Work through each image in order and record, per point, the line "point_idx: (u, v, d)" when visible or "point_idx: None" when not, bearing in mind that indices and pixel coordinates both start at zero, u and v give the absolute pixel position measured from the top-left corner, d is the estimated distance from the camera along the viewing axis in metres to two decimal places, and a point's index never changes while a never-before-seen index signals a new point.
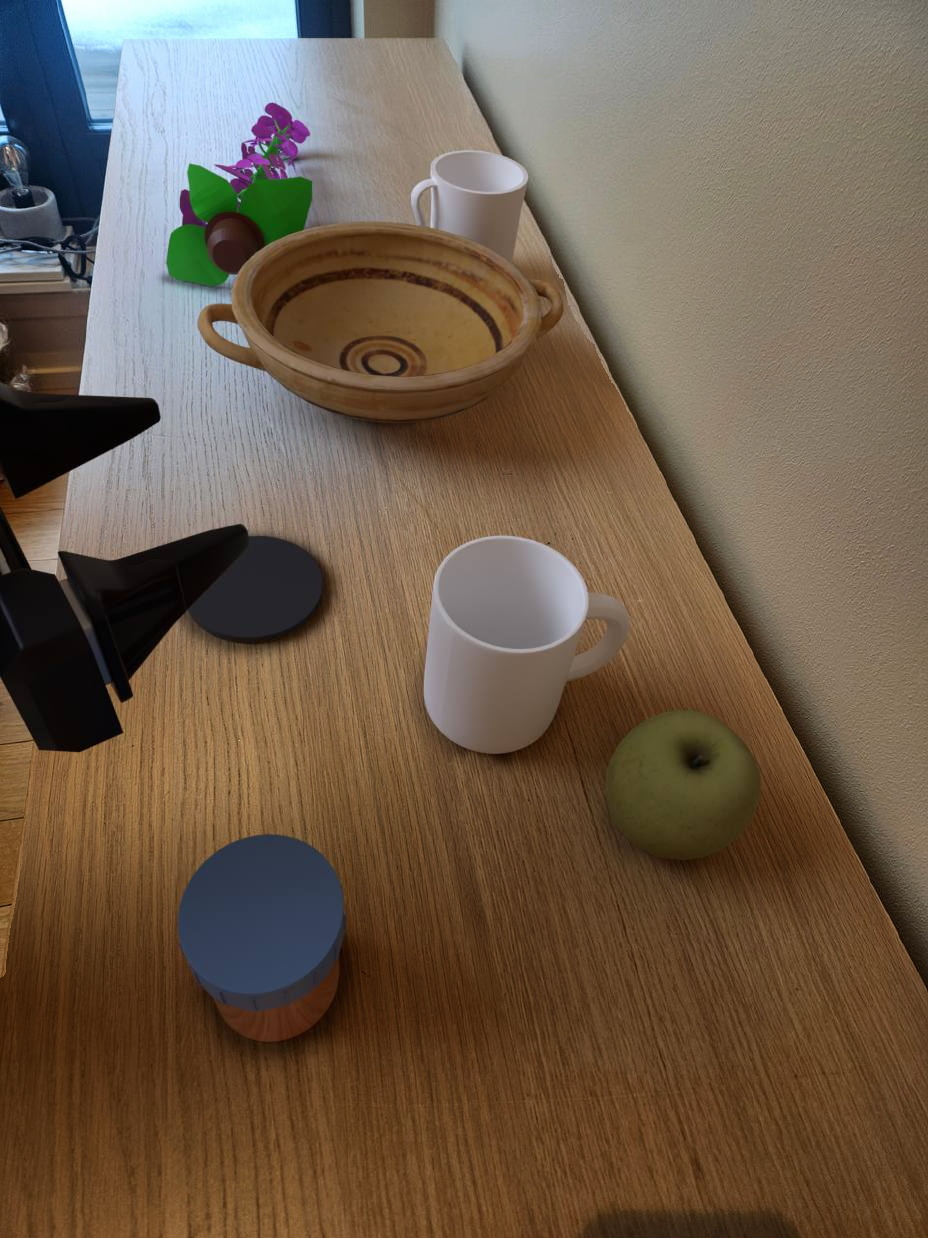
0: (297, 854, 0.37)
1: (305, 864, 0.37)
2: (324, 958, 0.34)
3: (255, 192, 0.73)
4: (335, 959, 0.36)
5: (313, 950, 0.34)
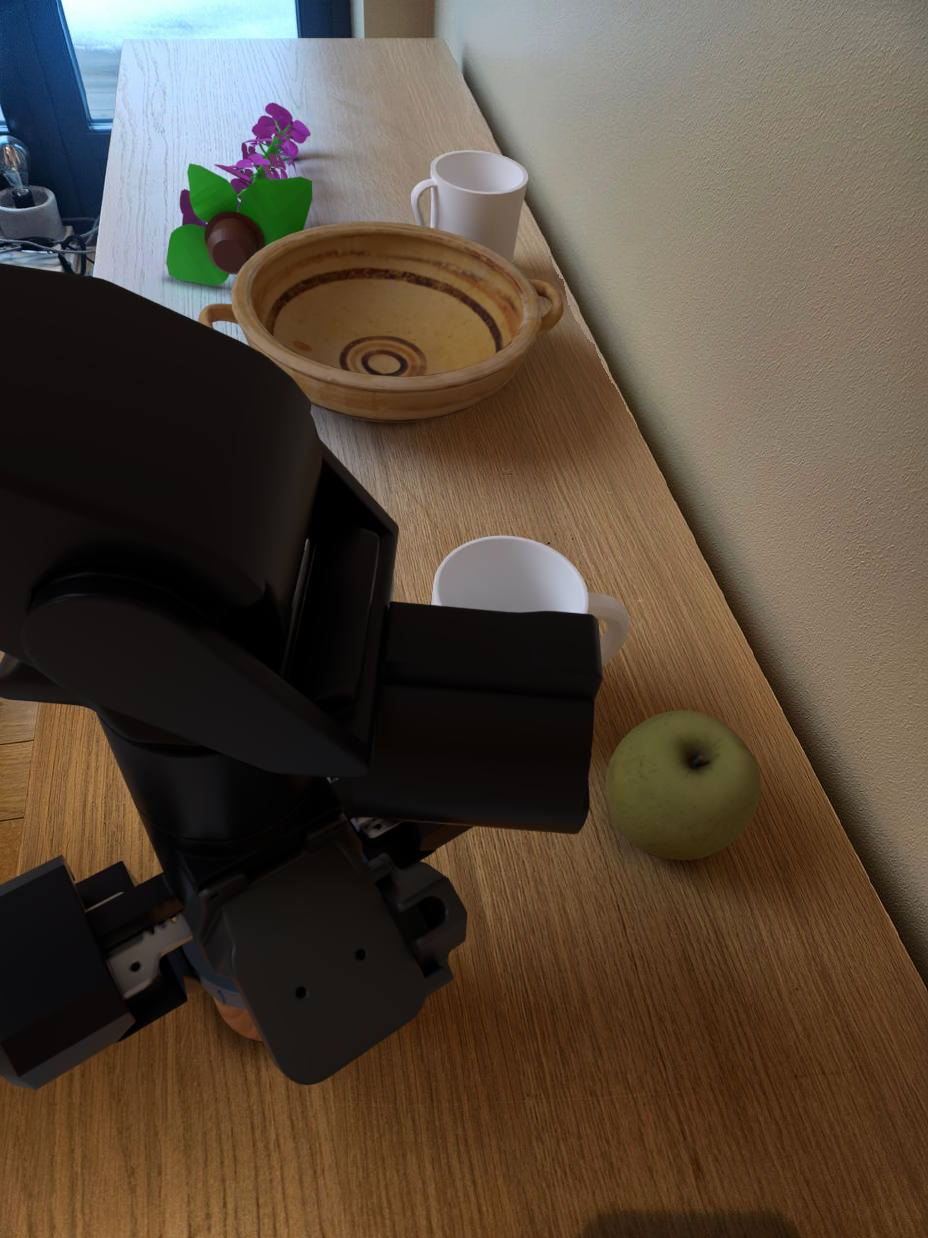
0: None
1: None
2: None
3: (255, 192, 0.73)
4: None
5: None
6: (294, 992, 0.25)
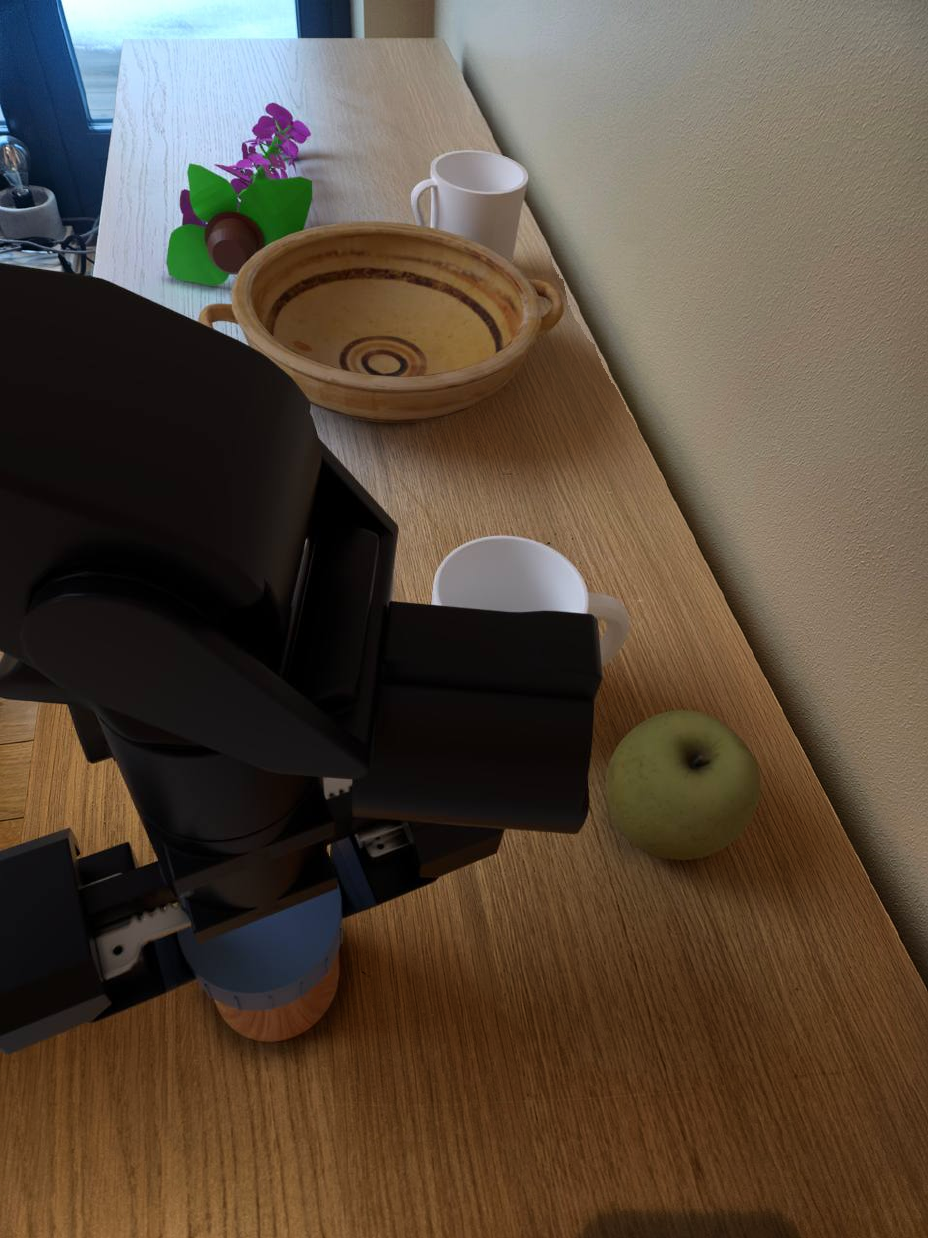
0: (211, 962, 0.34)
1: (206, 949, 0.34)
2: None
3: (255, 192, 0.73)
4: None
5: None
6: None
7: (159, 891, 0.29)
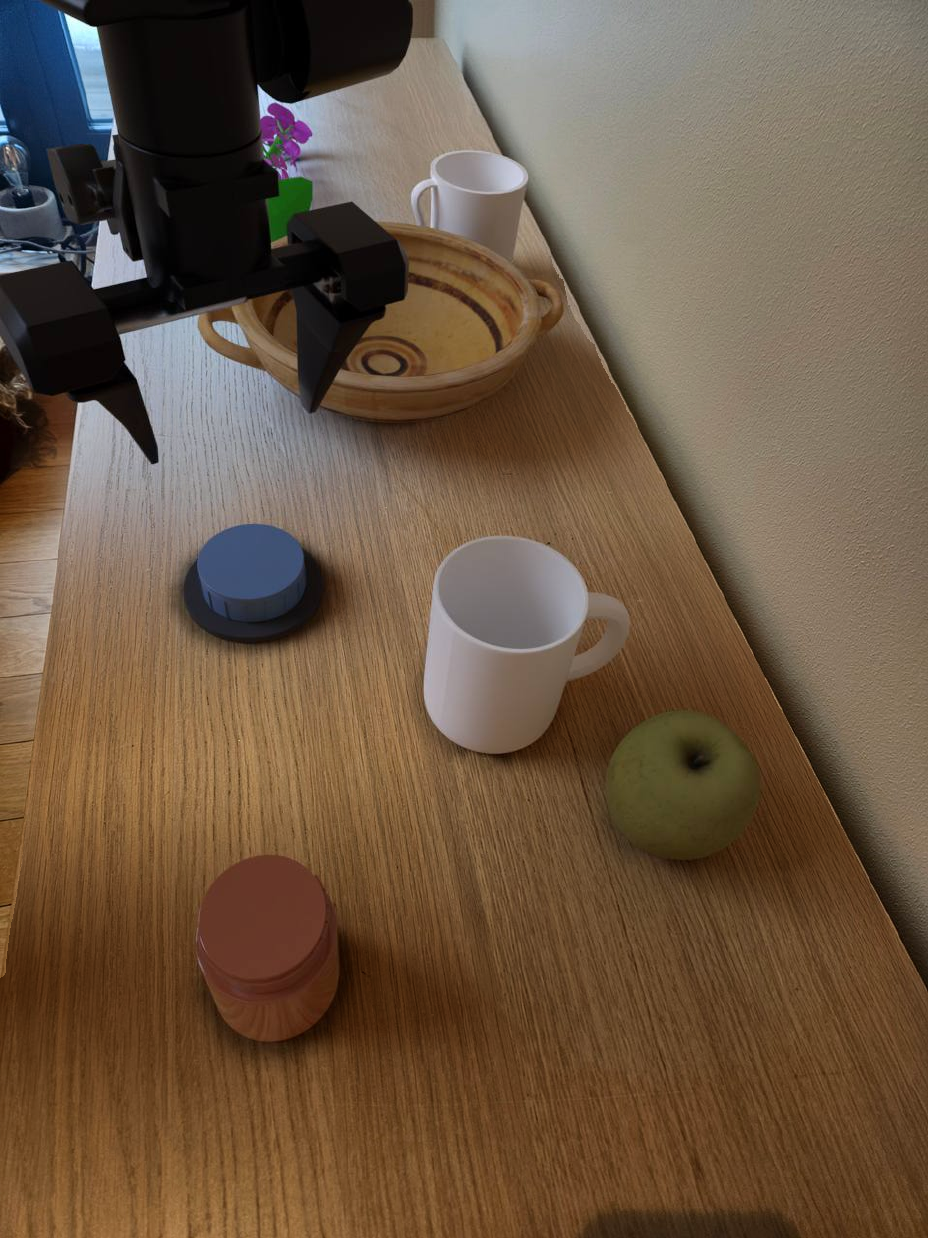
0: (226, 586, 0.53)
1: (220, 581, 0.54)
2: (213, 537, 0.56)
3: None
4: None
5: (219, 539, 0.56)
6: None
7: (149, 293, 0.38)
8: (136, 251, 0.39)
